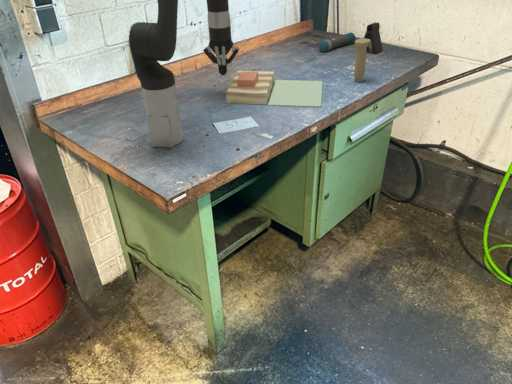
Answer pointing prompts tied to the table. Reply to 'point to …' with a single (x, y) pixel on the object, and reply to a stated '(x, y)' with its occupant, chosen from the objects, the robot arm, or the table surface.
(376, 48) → the phone stand
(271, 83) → the deck
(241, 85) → the salmon orange block
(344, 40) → the flashlight
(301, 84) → the mat
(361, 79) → the handle
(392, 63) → the table surface
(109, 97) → the table surface
